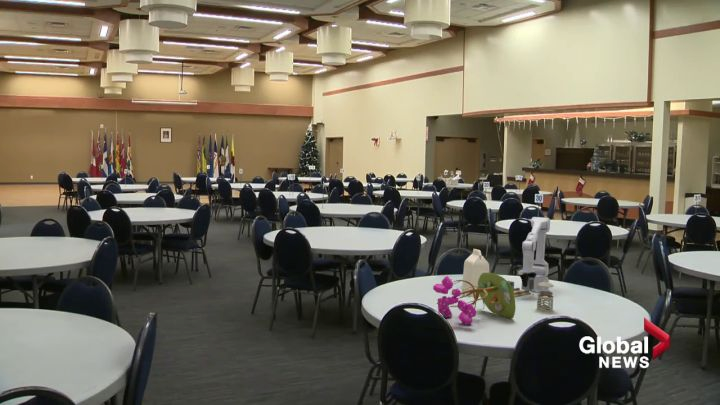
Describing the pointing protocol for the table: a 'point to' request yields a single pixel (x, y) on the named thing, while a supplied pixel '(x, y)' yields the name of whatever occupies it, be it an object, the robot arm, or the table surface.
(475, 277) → the milk
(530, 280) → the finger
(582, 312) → the table surface
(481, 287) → the magenta flower sprig
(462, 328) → the table surface
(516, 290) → the rail
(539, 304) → the french press
